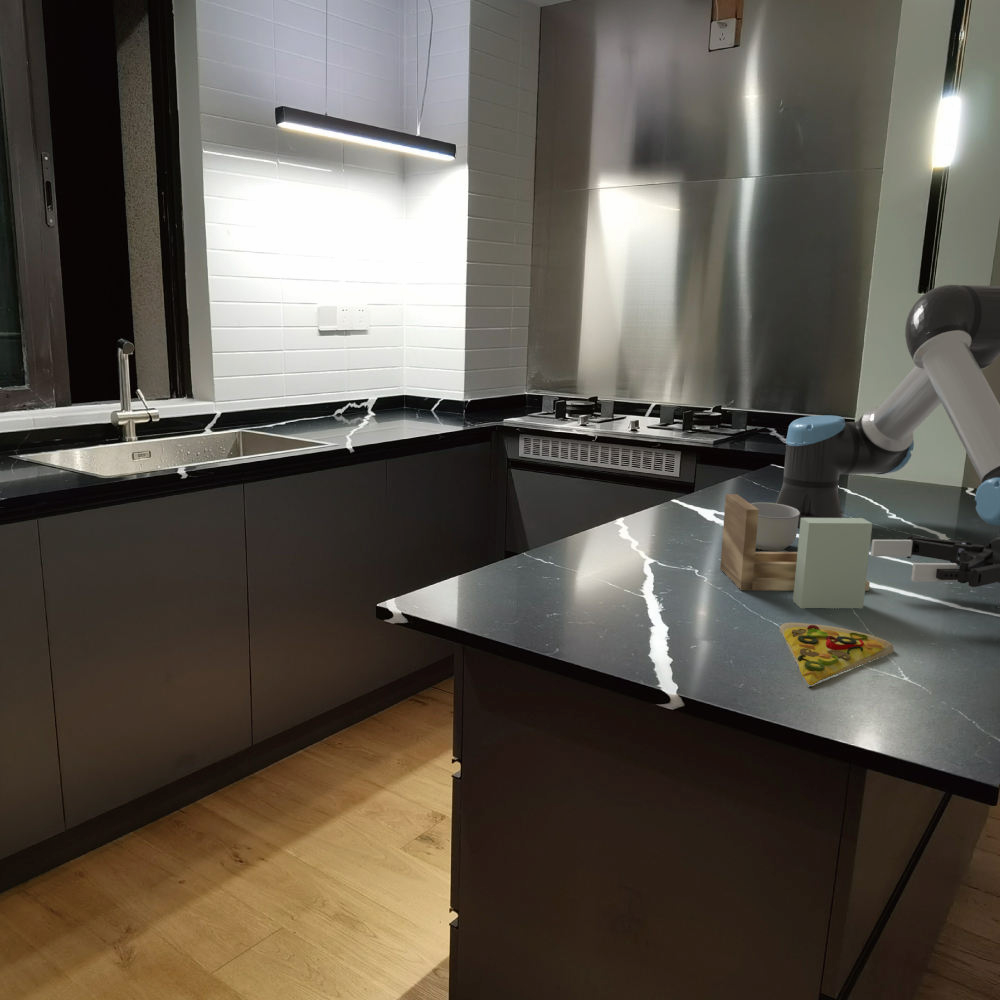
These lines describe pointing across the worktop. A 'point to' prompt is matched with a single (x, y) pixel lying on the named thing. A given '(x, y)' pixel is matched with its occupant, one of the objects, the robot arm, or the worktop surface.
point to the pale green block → (832, 562)
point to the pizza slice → (830, 649)
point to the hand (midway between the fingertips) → (891, 559)
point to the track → (753, 552)
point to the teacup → (776, 526)
